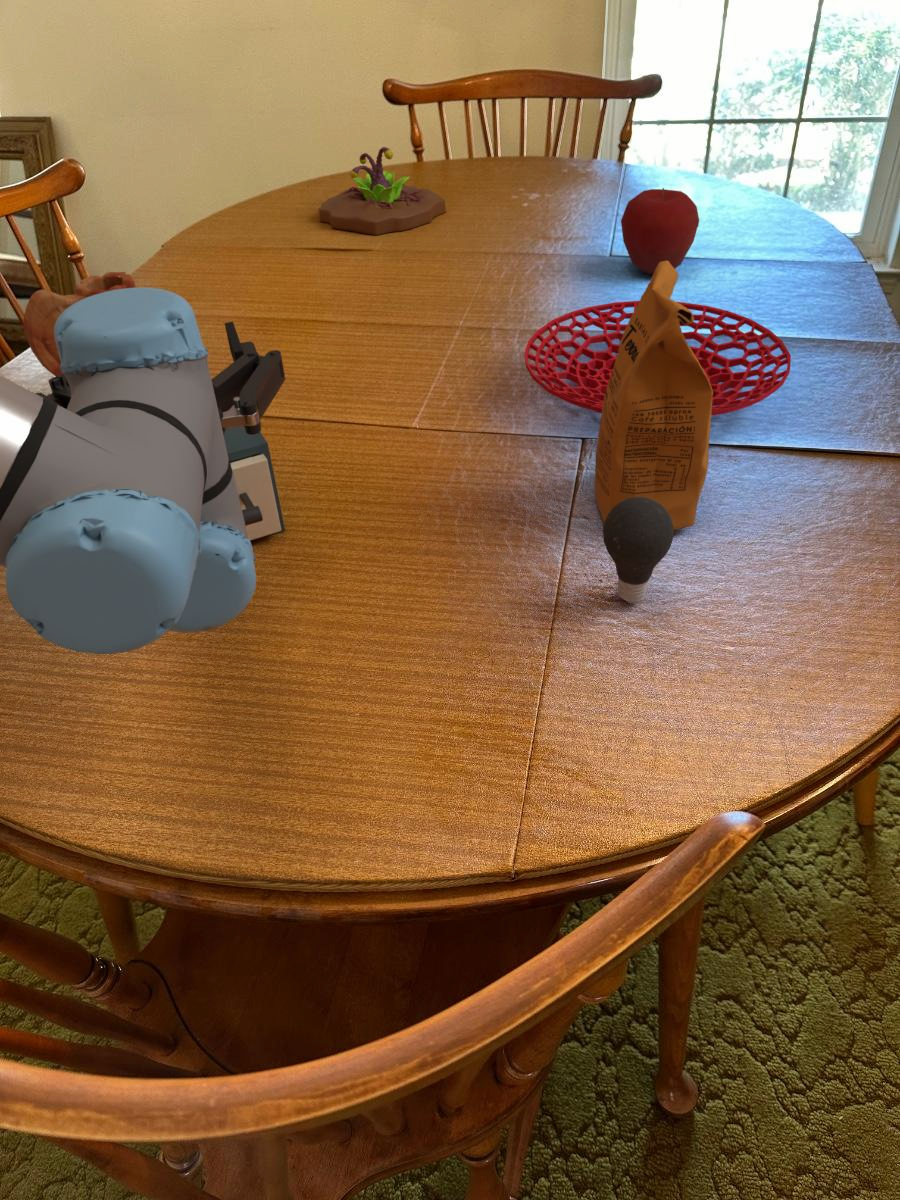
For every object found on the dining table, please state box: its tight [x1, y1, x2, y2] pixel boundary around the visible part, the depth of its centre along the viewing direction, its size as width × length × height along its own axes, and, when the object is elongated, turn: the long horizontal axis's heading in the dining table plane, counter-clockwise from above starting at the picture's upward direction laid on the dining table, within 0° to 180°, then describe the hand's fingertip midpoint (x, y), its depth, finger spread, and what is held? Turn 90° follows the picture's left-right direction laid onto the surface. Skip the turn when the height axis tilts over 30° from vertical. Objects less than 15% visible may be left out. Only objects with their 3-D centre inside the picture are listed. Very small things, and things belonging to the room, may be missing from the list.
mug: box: [23, 271, 137, 377], centre depth 108 cm, size 15×8×15 cm, turn 130°
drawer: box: [230, 454, 281, 541], centre depth 88 cm, size 18×12×8 cm, turn 26°
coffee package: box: [594, 261, 713, 531], centre depth 84 cm, size 10×12×22 cm
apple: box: [620, 187, 700, 275], centre depth 133 cm, size 11×11×12 cm
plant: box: [318, 146, 447, 236], centre depth 160 cm, size 20×20×11 cm
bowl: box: [524, 300, 792, 417], centre depth 107 cm, size 29×29×5 cm
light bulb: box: [602, 497, 675, 604], centre depth 77 cm, size 6×6×10 cm
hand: (154, 349), depth 82 cm, fingers open, 13 cm apart
